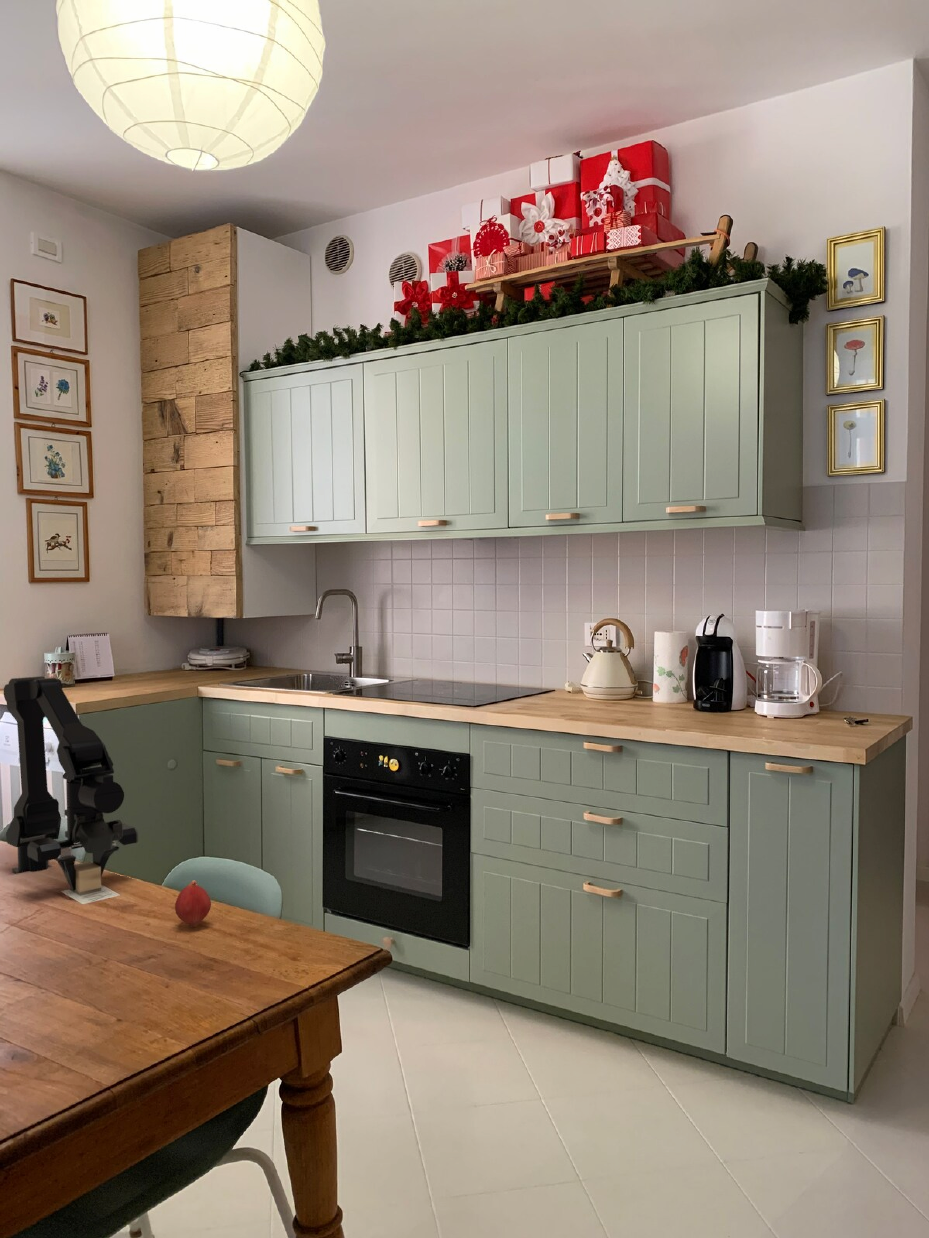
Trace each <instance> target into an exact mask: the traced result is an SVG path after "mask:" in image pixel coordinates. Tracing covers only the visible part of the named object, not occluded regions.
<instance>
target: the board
mask: <svg viewBox="0 0 929 1238" xmlns="http://www.w3.org/2000/svg"><path fill="white" fill-rule="evenodd" d="M61 893H63V894H65V895H66V896H67V897H70V898H71V899H73V900H74V901H76V902H78V903H80V905H81V904H82V905H86V904H91V903H95V902H98V901H102V900H106V899H110V898H111V899H112V898H115V897H118V896H121V894H119V893H117V892H116V891H114V890H112V889H110V888H108V887H107V886H105V885H103V884H101V891H98V892H94V893H89V894H85V895H81V896H80V895H78V894H76V893H74V892H73V891H71V890H69V889H65V890H61Z"/></svg>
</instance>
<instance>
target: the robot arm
mask: <svg viewBox="0 0 929 1238" xmlns="http://www.w3.org/2000/svg"><path fill="white" fill-rule="evenodd" d="M3 697H4V700H5V702H6V708H7V711H8V713H9V714H10V715H11V716H12V717H13V719H14V720H15V721H16V726H17V740H18V753H19V758H18V759H19V768H20V769H19V770H20V783H21V784H20V786H21V793H20V796H19V797H18V800H17V801H16V803H15V804H14V805H15V806H13V818H12V820H11V822H10V824H9V825H8V828H7V829H6V832H5V837H6V843H7V844H8V845H10V846H12V847H15V848H17V867H13V868H11V871H12V872H13V873H14V874H16V873H17V874H16V875H18V874H23V873H29V872H30V873H31V872H32V873H36V872H41V871H45V870H48V868H51V867H52V868H53V866H52V865H51V864H50V861H52V860H55V861H56V862H57V863H58V865H59V867H60V868H61V870H62V872H63V875H64V877H65V879H66V881H67V884H68V886H69V885H70V887H71V889H72V890H73V891H74V890H76V878H75V868H74V865H75V863H76V859H77V856H75V855H73V852H72V851H73V850H75V849H81V848H83V849H84V852H86V853H87V854H92V863H94V864H96V865H98V866H100V867H101V878H102V877H103V874H104V870H105V869H106V865H107V863H108V860H109V859H110V856H112V855H113V854H114V852H117V851H119V850H120V847H119V846H118V845H117V841H118V843H120V844H121V845H123V846H126V845H131V844H137V843H138V842H139V832H138V830H137V828H135V827H133V826H131V825H129V824H126V823H123V821H121V820H120V819H115V820H114V819H113V820H110V821H105V819H104V814H112V813H114V812H116V811H117V810H119V809H120V807H121V806H122V805H123V801H124V799H125V792H124V790H123V787H122V786H121V784H119V783H118V782H115V781H114V773H115V770H114V767H113V766H114V763H113V760H112V758H111V756H110V755H109V753H108V750H107V747H106V745H105V744H104V742H103V741H102V739H101V738H100V736H99V735H98V734H97V733H96V732H95V730H93V729H91V728H88V726H85V725H84V724H83V723H82V722H81V720H80V718H79V716H78V715H77V713H76V711H75V710H74V708H73V706H72V703H71V702H70V700H69V698H68V697H67V696H66V694H65V691H64V690H63V683H62V680H61V679H59V678H56V677H46V678H45V677H44V676H42V675H39V676H29V677H25V676H24V677H14V678H11V679H10V680H8V683H7V684H5V685H4V687H3ZM45 718H46V719H47V721H48V723H49V725H50V727H51V728H52V730H53V733H54V734H55V736H56V737H57V741H58V745H57V749H56V753H57V759H58V763H59V764H60V766H61V767H62V770H63V771H64V773H63V774H62V778H63V779H64V780H66V781H65V785H66V788H65V789H66V790H65V791H66V809H64V816H66V823H67V824H66V826H67V827H66V828H67V829H66V831H64V837H65V838H67V839H64V840H58V839H59V836H60V830H61V824H62V816H61V813H60V809H59V808H60V807H59V806H60V803H59V800H58V799H57V798H54V797H53V796H52V794H51V793H50V792H49V790H48V776H47V762H46V761H47V760H46V746H45V745H46V744H45V731H44V728H45V727H44V719H45ZM57 840H58V841H57Z"/></svg>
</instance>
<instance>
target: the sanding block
mask: <svg viewBox="0 0 929 1238" xmlns="http://www.w3.org/2000/svg"><path fill="white" fill-rule="evenodd" d="M74 868H75V878H76V890H74V891H73V890H72V889H71V887H70V885H69V884H68V886H69V887H68V890H71V891H73V892H74V893H76V894H78V895H80V896H81V895H85V894H89V893H94V892H98V891H101V885H102V877H101V867H100V866H98V865H96V864H94V863H93V861H86V862H81V863H76V864H75V863H74Z"/></svg>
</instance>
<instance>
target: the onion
mask: <svg viewBox="0 0 929 1238" xmlns="http://www.w3.org/2000/svg"><path fill="white" fill-rule="evenodd" d="M211 906H212V901H211V897H210V895H209V894H208V892H207V890H206V889H204V887H201V886H200V885H198V884H197V881H196V880H191V882H190V883H189V884H188V885H187V886H185V888H183V889H182V890H181V891H180V893H179V894H178V895H177V898H176V900H175V904H174V911H175V914H176V915H177V918H179V919H180V921H182V922H183V923H185V924H186V925H188V926H190V927H191V928H195V927H196V928H197V927H198V925H199V924H201V923H202V921H203V920H204V919H206V918H207V916H208V914H209V912H210V911H211Z"/></svg>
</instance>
